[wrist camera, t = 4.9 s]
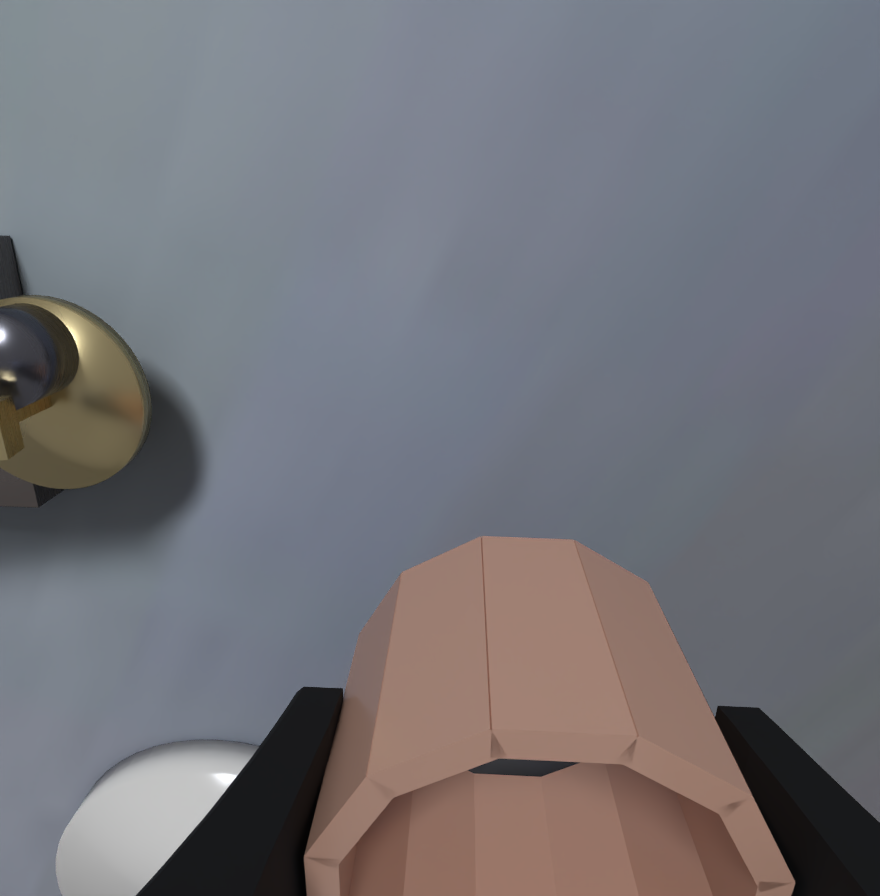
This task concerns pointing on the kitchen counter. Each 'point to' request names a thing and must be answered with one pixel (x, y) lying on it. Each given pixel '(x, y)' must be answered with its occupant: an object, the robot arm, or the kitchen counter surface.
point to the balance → (62, 395)
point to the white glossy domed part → (143, 814)
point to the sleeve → (531, 743)
